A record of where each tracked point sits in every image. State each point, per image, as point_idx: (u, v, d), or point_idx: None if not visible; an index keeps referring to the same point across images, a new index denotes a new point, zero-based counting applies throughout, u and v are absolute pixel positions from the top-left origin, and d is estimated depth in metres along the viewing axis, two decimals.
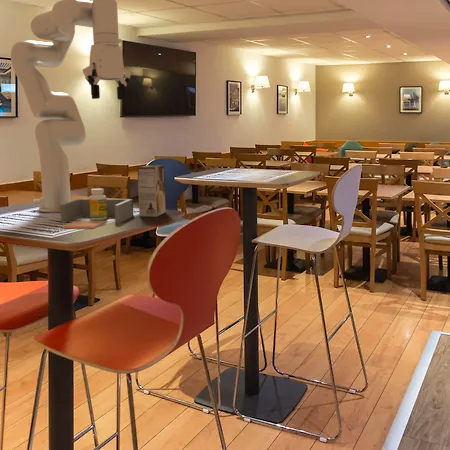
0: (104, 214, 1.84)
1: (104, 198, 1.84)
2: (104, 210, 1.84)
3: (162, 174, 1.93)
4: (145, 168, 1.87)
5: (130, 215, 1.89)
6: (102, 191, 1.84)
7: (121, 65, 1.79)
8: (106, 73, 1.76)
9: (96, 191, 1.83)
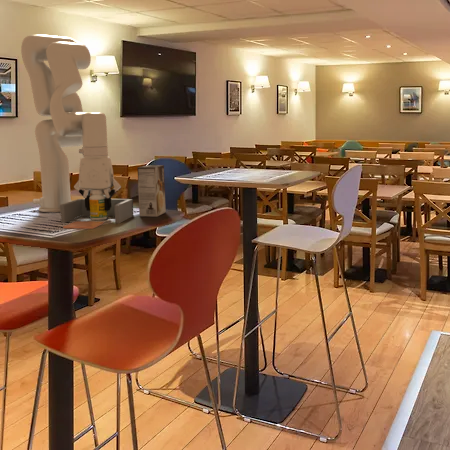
0: (104, 214, 1.84)
1: (104, 198, 1.84)
2: (104, 210, 1.84)
3: (162, 174, 1.93)
4: (145, 168, 1.87)
5: (130, 215, 1.89)
6: (102, 191, 1.84)
7: None
8: None
9: (96, 191, 1.83)
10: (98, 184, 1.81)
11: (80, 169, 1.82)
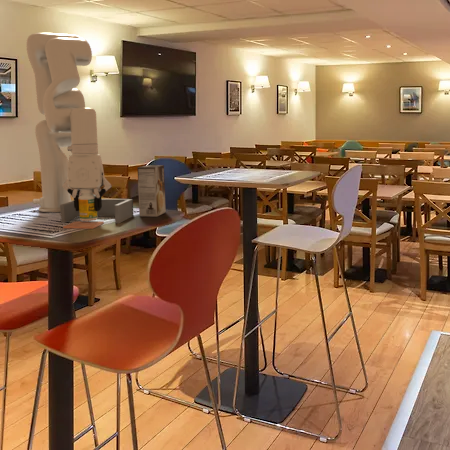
0: (94, 215, 1.76)
1: (94, 198, 1.75)
2: (94, 211, 1.76)
3: (162, 174, 1.93)
4: (145, 168, 1.87)
5: (130, 215, 1.89)
6: (92, 190, 1.75)
7: None
8: None
9: (86, 190, 1.74)
10: (88, 183, 1.73)
11: (68, 168, 1.73)
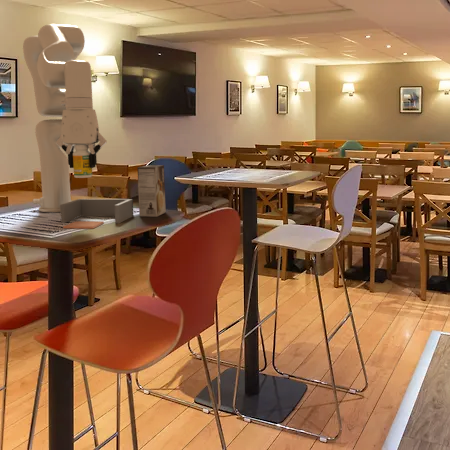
0: (89, 172, 1.71)
1: None
2: (89, 167, 1.71)
3: (162, 174, 1.93)
4: (145, 168, 1.87)
5: (130, 215, 1.89)
6: (86, 146, 1.70)
7: None
8: None
9: (80, 146, 1.69)
10: (82, 138, 1.68)
11: (62, 123, 1.68)
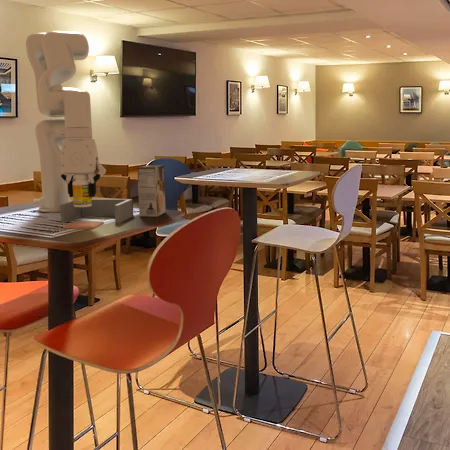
0: (88, 201, 1.71)
1: (88, 183, 1.70)
2: (88, 197, 1.70)
3: (162, 174, 1.93)
4: (145, 168, 1.87)
5: (130, 215, 1.89)
6: (86, 176, 1.70)
7: None
8: None
9: (79, 176, 1.69)
10: (81, 168, 1.68)
11: (62, 152, 1.68)
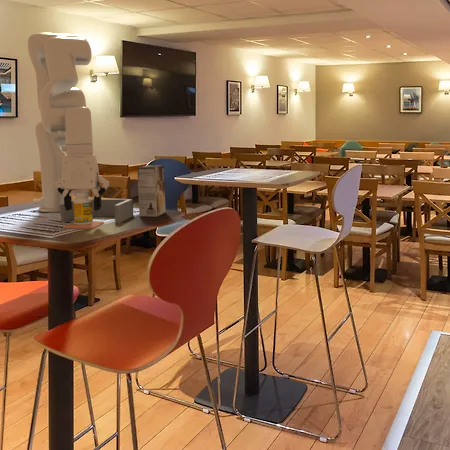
0: (89, 219, 1.72)
1: (89, 201, 1.71)
2: (89, 214, 1.72)
3: (162, 174, 1.93)
4: (145, 168, 1.87)
5: (130, 215, 1.89)
6: (87, 194, 1.71)
7: None
8: None
9: (80, 194, 1.70)
10: (82, 184, 1.68)
11: (63, 168, 1.69)
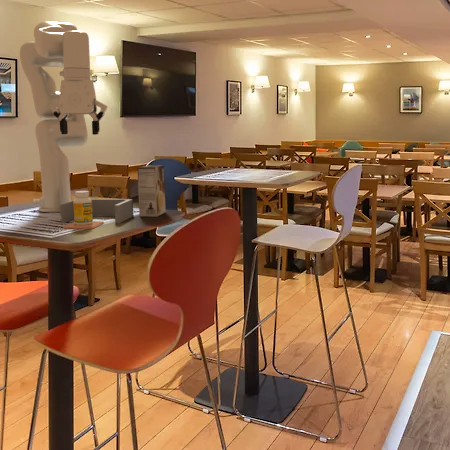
0: (89, 219, 1.72)
1: (89, 201, 1.71)
2: (89, 214, 1.72)
3: (162, 174, 1.93)
4: (145, 168, 1.87)
5: (130, 215, 1.89)
6: (87, 194, 1.71)
7: None
8: None
9: (80, 194, 1.70)
10: (79, 108, 1.71)
11: (60, 93, 1.71)
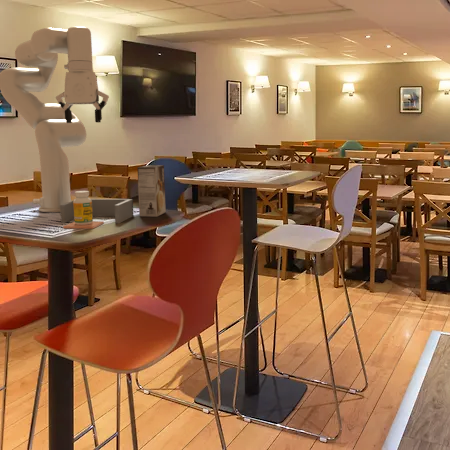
0: (89, 219, 1.72)
1: (89, 201, 1.71)
2: (89, 214, 1.72)
3: (162, 174, 1.93)
4: (145, 168, 1.87)
5: (130, 215, 1.89)
6: (87, 194, 1.71)
7: None
8: None
9: (80, 194, 1.70)
10: (83, 98, 1.85)
11: (65, 84, 1.85)
